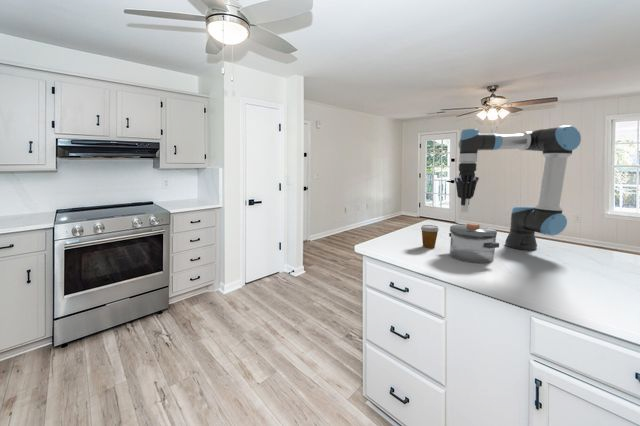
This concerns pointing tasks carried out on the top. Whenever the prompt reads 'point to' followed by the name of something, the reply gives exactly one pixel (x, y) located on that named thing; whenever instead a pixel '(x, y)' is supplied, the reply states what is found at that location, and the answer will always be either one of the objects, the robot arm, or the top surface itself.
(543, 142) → the robot arm
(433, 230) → the disposable coffee cup
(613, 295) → the top surface
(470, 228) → the pot lid
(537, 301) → the top surface
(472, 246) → the cooker pot
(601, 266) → the top surface
